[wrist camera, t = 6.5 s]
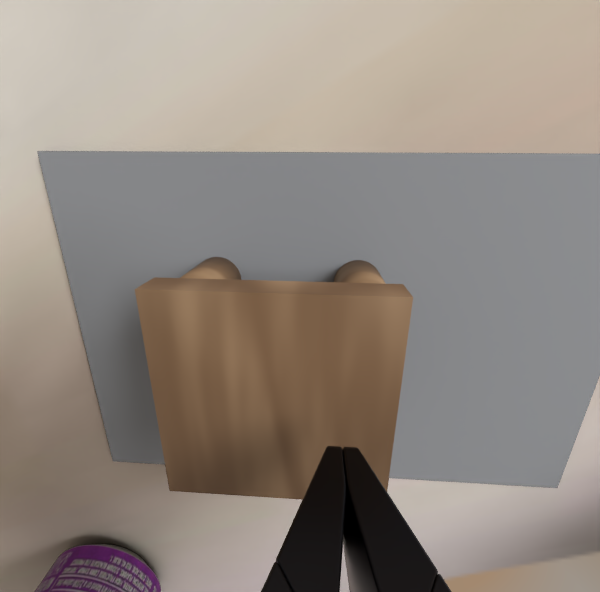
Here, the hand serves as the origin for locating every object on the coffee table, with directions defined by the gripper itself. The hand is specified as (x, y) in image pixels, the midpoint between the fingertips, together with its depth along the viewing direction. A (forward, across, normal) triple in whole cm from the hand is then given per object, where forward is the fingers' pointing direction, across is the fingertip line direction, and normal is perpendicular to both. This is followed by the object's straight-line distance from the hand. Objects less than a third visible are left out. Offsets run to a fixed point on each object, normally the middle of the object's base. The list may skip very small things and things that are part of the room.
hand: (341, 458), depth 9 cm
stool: (+4, -2, 0) cm, 5 cm away
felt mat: (+7, 0, 0) cm, 7 cm away
